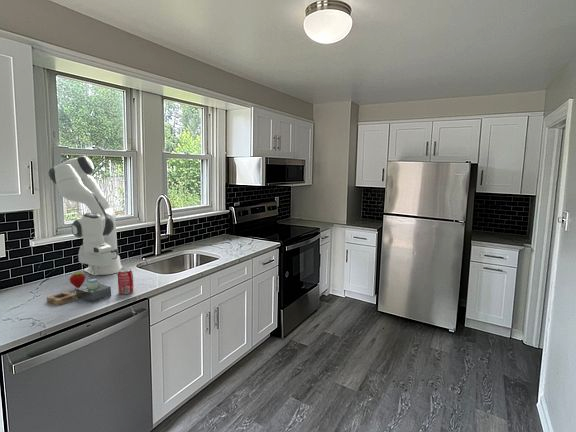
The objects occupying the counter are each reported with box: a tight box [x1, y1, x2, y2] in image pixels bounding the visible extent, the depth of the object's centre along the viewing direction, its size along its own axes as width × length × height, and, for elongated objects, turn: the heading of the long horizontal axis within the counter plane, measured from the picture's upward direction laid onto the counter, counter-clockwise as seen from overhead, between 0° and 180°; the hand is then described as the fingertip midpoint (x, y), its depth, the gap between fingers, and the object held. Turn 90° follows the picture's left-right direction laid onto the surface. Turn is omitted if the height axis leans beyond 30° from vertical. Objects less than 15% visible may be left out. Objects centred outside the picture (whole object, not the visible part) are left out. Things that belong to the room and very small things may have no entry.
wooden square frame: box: [46, 290, 77, 306], centre depth 159 cm, size 9×9×2 cm
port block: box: [75, 282, 112, 304], centre depth 164 cm, size 12×10×5 cm
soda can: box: [117, 268, 134, 295], centre depth 171 cm, size 7×7×12 cm
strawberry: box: [69, 271, 86, 288], centre depth 175 cm, size 6×8×10 cm
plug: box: [86, 278, 99, 290], centre depth 164 cm, size 3×3×9 cm
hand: (96, 273), depth 164 cm, fingers closed
